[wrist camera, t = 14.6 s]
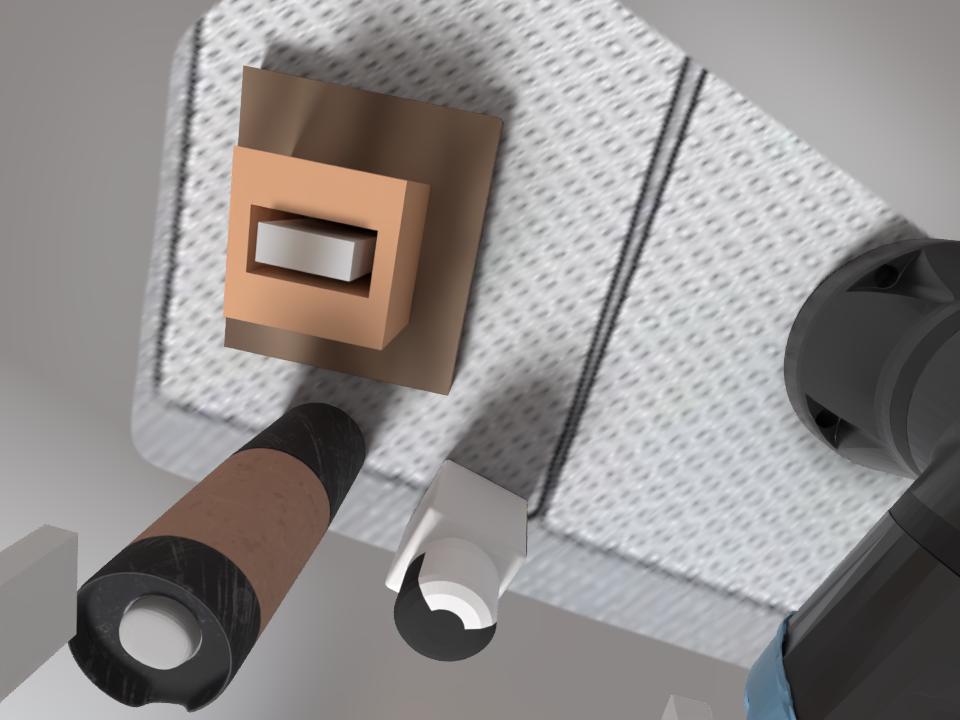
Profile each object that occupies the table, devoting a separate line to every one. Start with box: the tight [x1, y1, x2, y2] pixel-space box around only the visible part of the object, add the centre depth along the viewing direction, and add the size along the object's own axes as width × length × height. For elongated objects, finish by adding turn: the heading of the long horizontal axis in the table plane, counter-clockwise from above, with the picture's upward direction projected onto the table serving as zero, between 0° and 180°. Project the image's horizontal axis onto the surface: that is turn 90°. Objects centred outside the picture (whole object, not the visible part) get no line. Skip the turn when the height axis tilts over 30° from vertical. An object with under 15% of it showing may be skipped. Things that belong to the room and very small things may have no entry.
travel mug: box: [68, 403, 365, 712], centre depth 33 cm, size 8×8×20 cm
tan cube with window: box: [223, 146, 431, 350], centre depth 33 cm, size 9×9×7 cm
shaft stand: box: [224, 66, 503, 396], centre depth 33 cm, size 16×18×10 cm
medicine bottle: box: [386, 460, 527, 661], centre depth 37 cm, size 7×7×12 cm
